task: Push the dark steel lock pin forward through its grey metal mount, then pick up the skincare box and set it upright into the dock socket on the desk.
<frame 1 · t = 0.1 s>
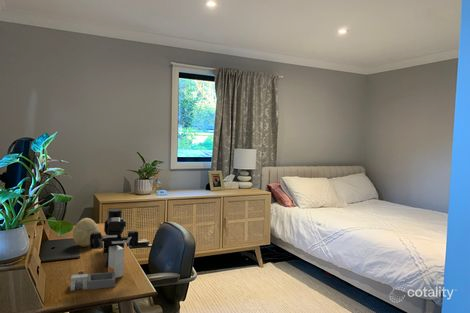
hand: (114, 245, 132), 17 cm above the table, tool horizontal, fingers open, 9 cm apart
fossilized egg: (85, 246, 181), on the table
skincare box: (115, 275, 145), on the table
pin mount: (79, 286, 132), on the table
dock socket: (101, 284, 136), on the table
lock pin: (80, 279, 136), point 1 cm above the table, slide at 0.0 cm
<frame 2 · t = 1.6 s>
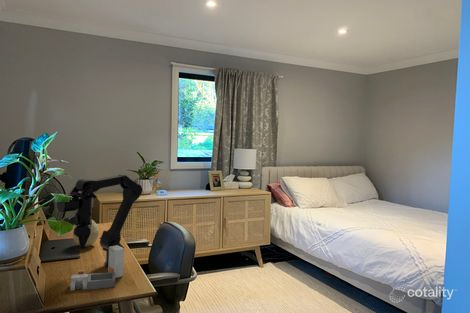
hand: (82, 245, 144), 12 cm above the table, tool pointing down, fingers open, 8 cm apart
nothing on the table moved.
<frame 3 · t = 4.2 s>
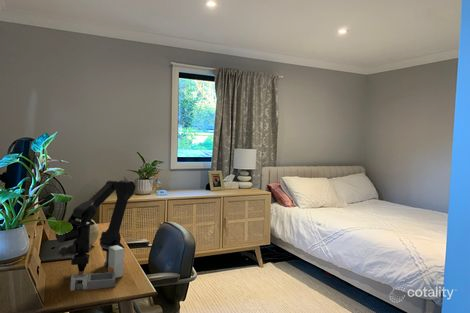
hand: (80, 274, 142), 1 cm above the table, tool pointing down, fingers closed
lock pin: (80, 279, 135), point 2 cm above the table, slide at 0.4 cm, touching gripper
everything else where it was.
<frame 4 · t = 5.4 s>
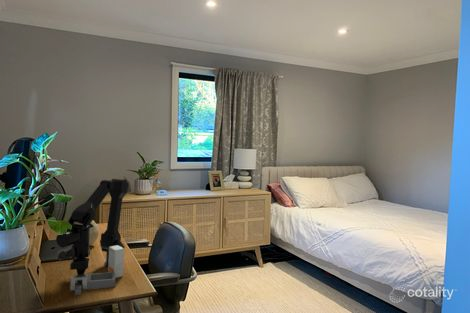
hand: (80, 278, 137), 1 cm above the table, tool pointing down, fingers closed
lock pin: (79, 284, 131), point 2 cm above the table, slide at 5.5 cm, touching gripper
everything else where it was.
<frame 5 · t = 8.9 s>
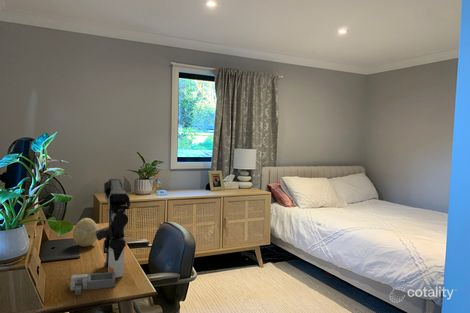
hand: (116, 257, 145), 8 cm above the table, tool pointing down, fingers closed on skincare box, 7 cm apart
skincare box: (115, 275, 145), on the table, touching gripper
lock pin: (79, 284, 131), point 1 cm above the table, slide at 5.5 cm
everything else where it was.
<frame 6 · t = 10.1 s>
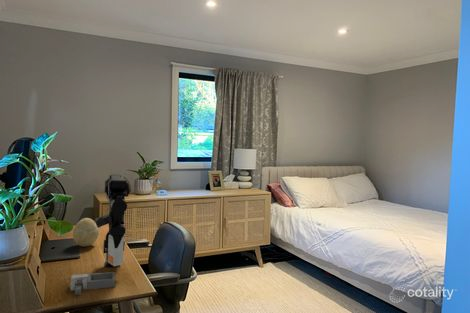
hand: (115, 245, 144), 13 cm above the table, tool pointing down, fingers closed on skincare box, 7 cm apart
skincare box: (115, 263, 144), point 5 cm above the table, touching gripper
everything else where it was.
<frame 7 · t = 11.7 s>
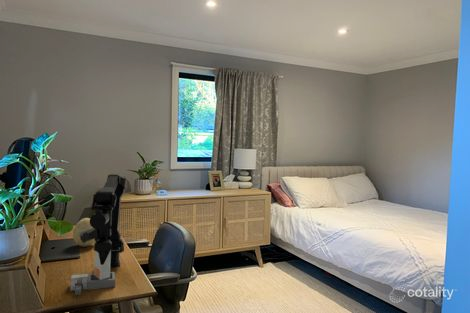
hand: (102, 261, 135), 9 cm above the table, tool pointing down, fingers closed on skincare box, 7 cm apart
skincare box: (102, 277, 136), point 3 cm above the table, touching dock socket, gripper
everything else where it was.
when the fingers open (9 cm above the table, at t = 12.1 s): skincare box stays where it is, resting on dock socket.
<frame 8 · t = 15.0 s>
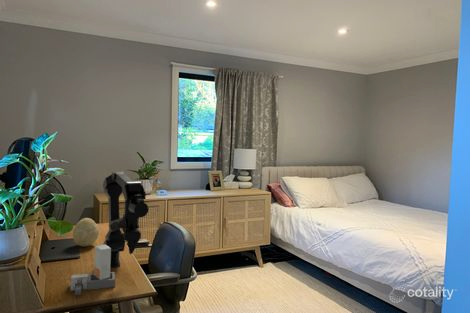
hand: (130, 250, 139), 13 cm above the table, tool pointing down, fingers open, 9 cm apart
skincare box: (102, 277, 136), point 3 cm above the table, touching dock socket
everything else where it was.
at the end: skincare box 0.1 cm off-centre on the dock socket, point 2.8 cm above the dock socket's base; skincare box tilted 0°; lock pin slide at 5.5 cm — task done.
